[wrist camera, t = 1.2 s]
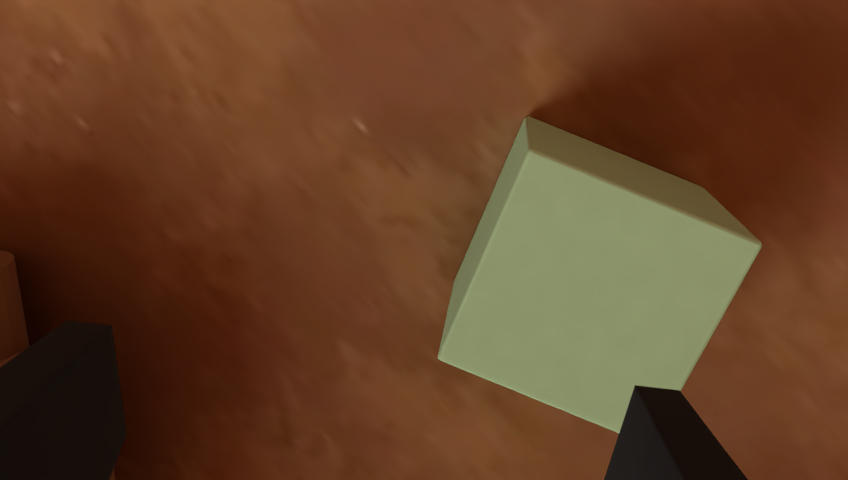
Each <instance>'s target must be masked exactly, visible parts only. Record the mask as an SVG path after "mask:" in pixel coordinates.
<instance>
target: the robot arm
mask: <svg viewBox="0 0 848 480" xmlns="http://www.w3.org/2000/svg"><path fill="white" fill-rule="evenodd" d="M126 434H127V433H126V426H125V419H124V412H123V405H122V397H121V390H120V383H119V376H118V368H117V361H116V354H115V347H114V340H113V332H112V326H111V325H102V324H93V323H84V322H75V321H66V322H64V323H63V324H61V325H60V326H58V327H57V328H55V329H54V330H52V331H51V332H49V333H48V334H47V335H45V336H44V337H42V338H41V339H39V340H38V341H36V342H35V343H34V344H32V345H31V346H29V347H28V348H27V349H25V350H24V351H22V352H21V353H20V354H18V355H17V356H15V357H14V358H12V359H11V360H10V361H8V362H7V363H5V364H4V365H3V366H1V367H0V480H109V479H110V477H111V474H112V472H113V469H114V466H115V464H116V461H117V458H118V455H119V453H120V450H121V447H122V445H123V442H124V439H125V436H126ZM604 480H748V479H747V478H746V477H745V475H744V474H743V473H742V472H741V470H740V469H739V468H738V466H737V465H736V464H735V463H734V461H733V460H732V459H731V457H730V456H729V455H728V453H727V452H726V451H725V450H724V448H723V447H722V446H721V444H720V443H719V442H718V440H717V439H716V438H715V436H714V435H713V434H712V433H711V431H710V430H709V429H708V427H707V426H706V425H705V423H704V422H703V421H702V419H701V418H700V417H699V415H698V414H697V413H696V411H695V410H694V409H693V408H692V406H691V405H690V404H689V402H688V401H687V400H686V398H685V397H684V396H683V395H682V393H681V392H680V391H679V390H672V389H663V388H654V387H646V386H637V385H635V387H634V390H633V393H632V396H631V399H630V402H629V405H628V408H627V411H626V414H625V417H624V420H623V423H622V427H621V430H620V433H619V436H618V439H617V442H616V445H615V448H614V451H613V454H612V457H611V460H610V463H609V466H608V470H607V473H606V476H605V479H604Z"/></svg>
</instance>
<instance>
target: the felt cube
mask: <svg viewBox="0 0 848 480" xmlns="http://www.w3.org/2000/svg"><path fill="white" fill-rule="evenodd" d="M761 247H762V243H761V242H760V241H759V240H758V239H757V238H756V237H755V236H754V235H753V234H752V233H751V232H750V231H749V230H748V229H747V228H745V227H744V226H743V225H742V224H741V223H740V222H739V221H738V220H737V219H736V218H735V217H734V216H733V215H732V214H731V213H730V212H729V211H727V210H726V209H725V208H724V207H723V206H722V205H721V204H720V203H719V202H718V201H717V200H716V199H715V198H714V197H713V196H712V195H711V194H710V193H708V192H707V191H706V190H705V189H704V188H703V187H701V186H699V185H696V184H694V183H691V182H689V181H686V180H684V179H681V178H679V177H677V176H674V175H672V174H669V173H667V172H664V171H662V170H659V169H657V168H655V167H652V166H650V165H647V164H645V163H642V162H640V161H637V160H635V159H633V158H630V157H628V156H625V155H623V154H620V153H618V152H615V151H613V150H611V149H608V148H606V147H603V146H601V145H598V144H596V143H593V142H591V141H589V140H586V139H584V138H581V137H579V136H576V135H574V134H571V133H569V132H567V131H564V130H562V129H559V128H557V127H554V126H552V125H549V124H547V123H545V122H542V121H540V120H537V119H535V118H532V117H530V116H526V117H525V118H524V120H523V123H522V125H521V127H520V130H519V132H518V134H517V137H516V139H515V141H514V143H513V146H512V148H511V150H510V153H509V155H508V157H507V160H506V162H505V164H504V167H503V169H502V171H501V174H500V176H499V178H498V181H497V183H496V185H495V188H494V190H493V192H492V194H491V197H490V199H489V201H488V204H487V206H486V208H485V211H484V213H483V215H482V218H481V220H480V222H479V225H478V227H477V229H476V232H475V234H474V236H473V239H472V241H471V243H470V246H469V248H468V250H467V252H466V255H465V257H464V259H463V262H462V264H461V266H460V269H459V271H458V273H457V276H456V278H455V280H454V285H453V289H452V294H451V298H450V303H449V307H448V312H447V317H446V321H445V326H444V330H443V335H442V339H441V344H440V349H439V353H438V359H439V360H440V361H443V362H445V363H448V364H450V365H453V366H455V367H457V368H460V369H462V370H465V371H467V372H470V373H472V374H475V375H477V376H480V377H482V378H484V379H487V380H489V381H492V382H494V383H497V384H499V385H502V386H504V387H507V388H509V389H512V390H514V391H516V392H519V393H521V394H524V395H526V396H529V397H531V398H534V399H536V400H539V401H541V402H543V403H546V404H548V405H551V406H553V407H556V408H558V409H561V410H563V411H566V412H568V413H571V414H573V415H575V416H578V417H580V418H583V419H585V420H588V421H590V422H593V423H595V424H598V425H600V426H602V427H605V428H607V429H610V430H612V431H615V432H617V433H620V430H621V427H622V423H623V420H624V417H625V414H626V411H627V408H628V405H629V402H630V399H631V396H632V393H633V390H634V387H635V385H637V386H646V387H654V388H663V389H672V390H679V391H681V389H682V388H683V386H684V384H685V382H686V381H687V379H688V377H689V375H690V373H691V372H692V370H693V368H694V366H695V365H696V363H697V361H698V359H699V357H700V356H701V354H702V352H703V350H704V349H705V347H706V345H707V343H708V341H709V340H710V338H711V336H712V334H713V333H714V331H715V329H716V327H717V325H718V324H719V322H720V320H721V318H722V317H723V315H724V313H725V311H726V310H727V308H728V306H729V304H730V302H731V301H732V299H733V297H734V295H735V294H736V292H737V290H738V288H739V286H740V285H741V283H742V281H743V279H744V278H745V276H746V274H747V272H748V270H749V269H750V267H751V265H752V263H753V262H754V260H755V258H756V256H757V254H758V253H759V251H760V249H761Z"/></svg>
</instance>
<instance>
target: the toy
mask: <svg viewBox="0 0 848 480" xmlns="http://www.w3.org/2000/svg"><path fill="white" fill-rule="evenodd" d="M28 347H29V340H28V334H27V328H26V322H25V316H24V310H23V304H22V298H21V292H20V287H19V281H18V275H17V269H16V264H15V258H14V255H13V254H12V253H10V252H7V251H3V250H0V367H1V366H3V365H4V364H5V363H7V362H8V361H10V360H11V359H12V358H14V357H15V356H17V355H18V354H20V353H21V352H22V351H24V350H25V349H27V348H28ZM109 480H115V474H114V469H113V472H112V474H111V477H110V479H109Z"/></svg>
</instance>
